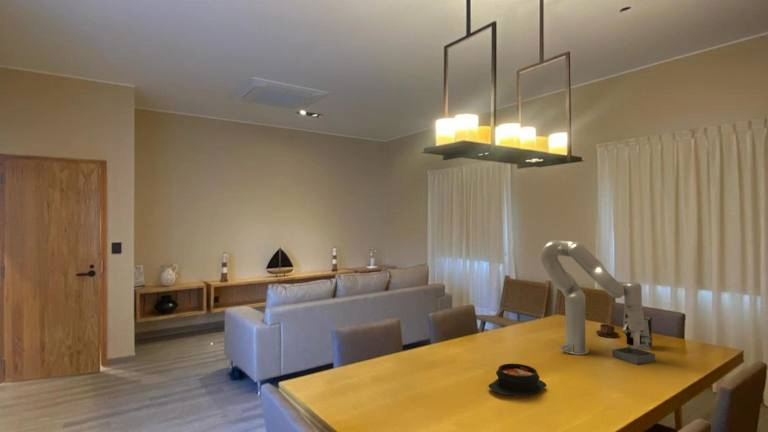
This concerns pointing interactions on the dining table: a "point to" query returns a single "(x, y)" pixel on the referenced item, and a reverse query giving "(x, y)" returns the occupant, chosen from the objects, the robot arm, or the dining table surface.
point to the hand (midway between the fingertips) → (634, 343)
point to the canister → (635, 340)
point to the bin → (633, 355)
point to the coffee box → (647, 335)
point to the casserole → (517, 380)
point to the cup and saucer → (607, 331)
